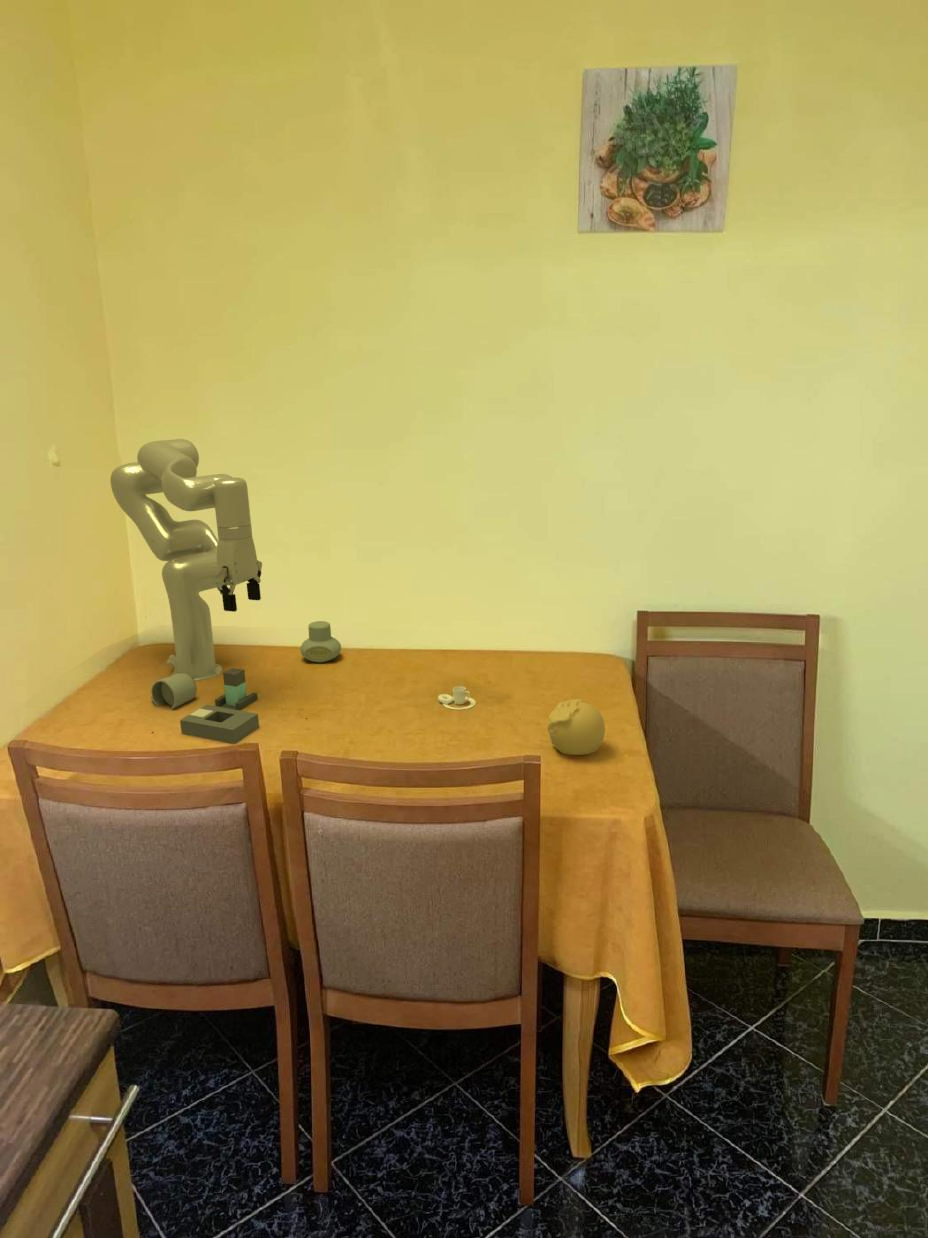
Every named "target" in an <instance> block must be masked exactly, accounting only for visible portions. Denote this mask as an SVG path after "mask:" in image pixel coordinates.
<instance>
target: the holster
mask: <svg viewBox="0 0 928 1238" xmlns="http://www.w3.org/2000/svg"><path fill="white" fill-rule="evenodd" d="M258 699H259V696H258V693H257V692H251V693H250V694H247V696H246V697H245V698H243V699H242V700H240V701H238V702H237V703H235V706H233V705H227V704H226V697H225V693H224V694H222V695H220V696H219V697H217V698H215V699H214V706H217V707H223V708H228V709H234V710H240V711H243V709H245V708H248V706H250V705H251V704H253V703H255V702H256V701H257V700H258ZM258 701H259V700H258Z"/></svg>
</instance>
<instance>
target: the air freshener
mask: <svg viewBox="0 0 928 1238" xmlns="http://www.w3.org/2000/svg"><path fill="white" fill-rule="evenodd" d="M307 626H308V627H307V628H308V638H307V639H305V640H304V641H303V642H302V643H301V645H300V654H301V655H302V657H304V659H306V660H308V661H309V662H314V663H317V664H320V663H326V662H330V661H332V660H334V659H335V658H337V657H338V656H339V654H340V653H341V651H342V644H341V643H340V641H339V640H338V639H336V638H335V637H333V636H332V632H331V631H332V629H331V623H330V622H328V621H324V620H317V621H313V622H310V623H309V624H308V625H307Z"/></svg>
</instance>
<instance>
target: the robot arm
mask: <svg viewBox="0 0 928 1238" xmlns="http://www.w3.org/2000/svg"><path fill="white" fill-rule="evenodd" d="M199 454H200V453H199V452H198V449H197V448H196V446H195V444H194V443H193V442H191V441H189V440H188V439H184V438H176V439H166V440H165V439H164V440H154V441H150V442H147V443H145V444H144V445H142V446H141V447H140V448H139V450H138V452H137V456H136V458H137V459H136V460H137V461H136V462H128V463H124V464H121V465H119V466H117V467H115V468H114V469H113V470H112V472H111V475H110V478H109V479H110V480H109V482H110V487H111V491H112V494H113V496H114V498H115V500H116V503H117V504H118V506H119V507H120V509H121V510H122V511H123V512H124V513H125V514H126V515H127V517H129V518H130V520H131V521H132V522H133V523H134V524H135V526H136V527H137V529H138V531H139V532H140V534H141V535H142V537H143V539H144V540H145V542H146V544H147V546H148V547H149V549H150V550H151V552H152V553H153V555H154V556H155V557H156V559H158V560H159V561H162V562H166V563H165V564H164V565H163V567H162V570H161V577H162V581H163V584H164V587H165V592H166V594H167V599H168V602H169V603H168V604H169V610H170V616H171V623H172V624H171V625H172V632H173V633H172V634H173V643H174V649H175V651H174V652H175V655H174V654H170V655H169V657H168V659H167V661H166V665H167V666H173V668H174V670H173V671H172V672H171V676H172V675H175V674H180V673H185V674H188V675H190V676H191V677H192V678H193V679H194V681H195V682H199V681H205V680H209V679H212V678H214V677H216V676H218V675H220V674H221V673H223V667H222V665H221V664H218V663H216V656H215V645H214V636H213V628H212V626H213V625H212V617H211V610H210V607H209V605H208V603H207V602H206V600H205V599H203V598H202V597H201V596H200V593H201V592H204V591H208V590H213V589H217V590H218V591H219V593H220V595H221V597H222V606H223V610H224V612H234V613H235V612H237V611H238V607H237V606H238V605H237V597H236V594H235V593H234V591H235V589H236V585H240V584H242V583H245V582H246V592H247V600H249V601H260V600H262V598H261V587H260V586H261V585H260V583H261V576H262V567H263V562H262V561H260V560H259V559H258V558H257V551H256V547H255V542H254V539H253V531H252V521H251V520H252V519H251V510H250V500H249V489H248V483H247V481H246V480H245V479H244V478H241V477H235V476H234V477H233V476H232V475H229V474H226V473H217V474H216V473H215V474H208V475H199V476H197V472H198V469H197V468H198V467H199V463H200V456H199ZM161 493H163V495H164V497H165V499H166V500H167V501H168V502H169V503H170V504H171V505H173V506H175V507H176V508H178V509H179V510H182V511H186V512H197V511H203V510H209V509H214V510H215V517H216V518H215V519H216V527H217V536H218V537H217V536H216V534H215V533H214V531H213V529H211V527H210V526H209V525H208V523H205V522H204V521H202V520H199V519H187V520H181V521H177V520H174V519H173V518H172V517H171V515H170V512H168V510H167V508H165V507H164V506H163V505H162V504H161V503H159V502H157V501H156V500H155V499H153V498H150V497H149V496H148V495H154V494H161ZM228 586H229V587H228Z"/></svg>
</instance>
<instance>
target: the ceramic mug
mask: <svg viewBox="0 0 928 1238" xmlns="http://www.w3.org/2000/svg"><path fill="white" fill-rule="evenodd" d="M150 691H151V692H150V694H151V696H150V700H151V702H152V703H153V704H155V706H156V707H161V706H162V705H165V704H168V705H170V706H171V708H169V710H174V709H176V708H178V707H181V706H182V705H184V704H186V703H188V702H191V701H192V700H193V699H194V698H195V697H196V694H197V693H198V692H197V684H196V681H194V679H193V678H192V677H191V676H190V675H188V674H185V673H180V674H175V675H172V674H171V676H167V677H164V678H163V677H162V678H161V679H160V678H159V679H158V680H156V681H155V682H154V683H153V684H152V686H151V689H150Z"/></svg>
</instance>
